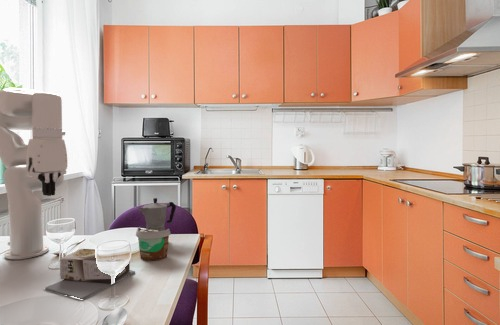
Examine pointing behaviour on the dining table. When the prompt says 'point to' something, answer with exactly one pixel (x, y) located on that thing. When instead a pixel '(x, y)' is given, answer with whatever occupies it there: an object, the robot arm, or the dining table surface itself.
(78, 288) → the mat
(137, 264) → the dining table surface
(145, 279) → the dining table surface
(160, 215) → the coffeepot
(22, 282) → the dining table surface
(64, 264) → the coffee box
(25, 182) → the robot arm
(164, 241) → the food container
